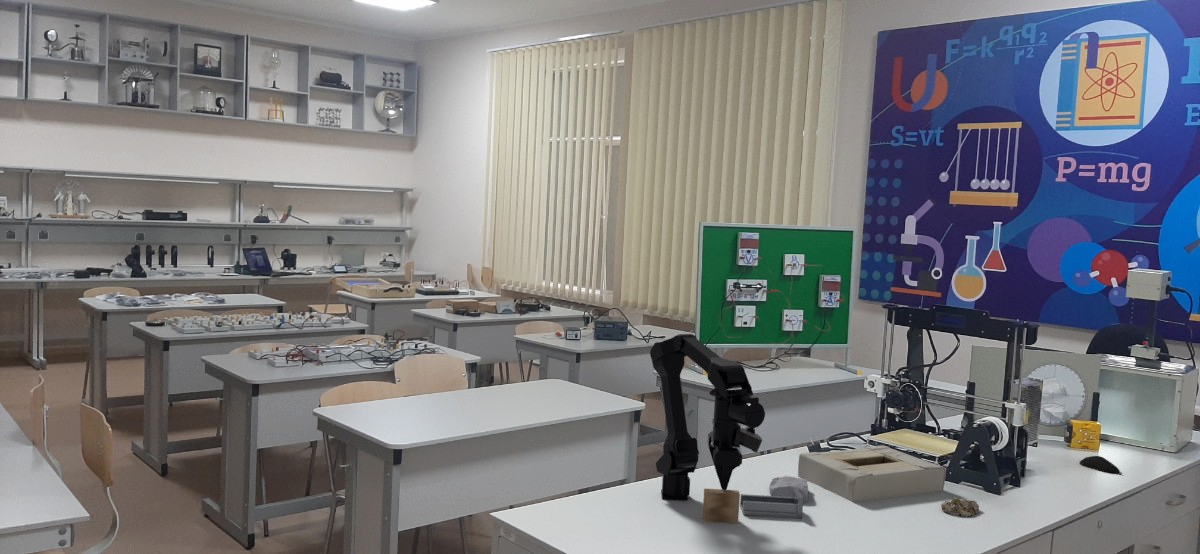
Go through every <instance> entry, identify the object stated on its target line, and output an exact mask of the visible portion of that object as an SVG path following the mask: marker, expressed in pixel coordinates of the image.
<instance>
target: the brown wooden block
mask: <svg viewBox="0 0 1200 554" xmlns="http://www.w3.org/2000/svg"><path fill="white" fill-rule="evenodd" d="M740 497H741V493H740V492H739V490H736V489H726V490H722V488H721V489H719V488H716V489H715V488H704V489H703V506H702V507H703V508H702V521H703V522H704V523H723V524H739V517H740V516H739V514H740Z"/></svg>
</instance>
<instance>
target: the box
mask: <svg viewBox="0 0 1200 554" xmlns="http://www.w3.org/2000/svg"><path fill="white" fill-rule="evenodd" d="M797 464H798V465H797V466H798V468H797V469H798V470H797V475H798V478H799V477H800V479H807V482H810V483H812V484H813V485H815V486H817V487H821V488H822V489H824V490H827V491H829V492H831V493H833V494H835V495H837V496H839V497H842V498H844V499H846V500H848V501H850V502H852V503H856V502H864V501H871V500H880V499H887V498H888V499H889V498H897V497H903V496H911V495H918V494H926V493H934V492H942V491H944V487H945V482H946V475H947V474H946V473H947V471H946V467H944V466H942V465H939V464H935V463H932V462H930V461H927V460H924V459H921V458H918V457H916V456H913V455H910V454H908V453H905V452H903V451H899V450H896V449H893V448H892V447H889V446H886V445H877V446H865V447H864V448H856V449H845V450H834V451H833V450H831V451H822V452H818V451H817V452H816V451H812V452H810V451H809V452H803V453H799V455H798V463H797Z"/></svg>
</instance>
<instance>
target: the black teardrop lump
mask: <svg viewBox="0 0 1200 554" xmlns="http://www.w3.org/2000/svg"><path fill="white" fill-rule="evenodd" d="M1079 465H1080V466H1081V467H1084V468H1088V469H1091V470H1095V471H1098V472H1101V473H1105V474H1110V475H1112V474H1113V475H1119V476H1124V475H1123V474H1122V473H1120V472H1121V470H1120V469H1119V468H1118V467H1117V466H1116V465H1115V464H1114V463H1113V462H1111V461H1109V460H1108V459H1106V458H1105V457H1102V456H1100V455H1091V456H1086V457H1084V458H1083V459H1081V460H1079Z"/></svg>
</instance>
